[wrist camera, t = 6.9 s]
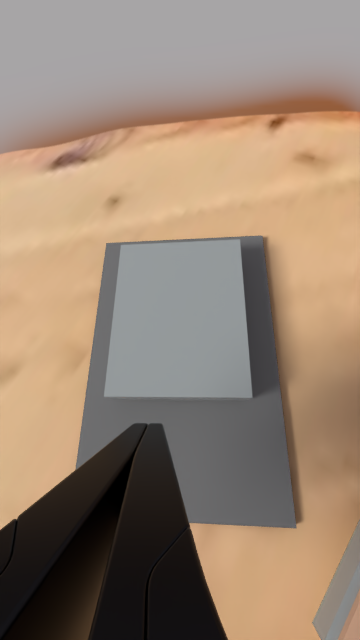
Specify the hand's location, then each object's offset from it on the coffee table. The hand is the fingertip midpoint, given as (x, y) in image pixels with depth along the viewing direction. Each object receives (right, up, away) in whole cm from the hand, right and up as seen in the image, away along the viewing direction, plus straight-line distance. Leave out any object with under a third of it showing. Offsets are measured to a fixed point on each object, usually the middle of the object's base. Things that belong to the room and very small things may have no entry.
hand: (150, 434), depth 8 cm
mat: (+1, +1, +10) cm, 10 cm away
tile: (+1, -1, +7) cm, 8 cm away
